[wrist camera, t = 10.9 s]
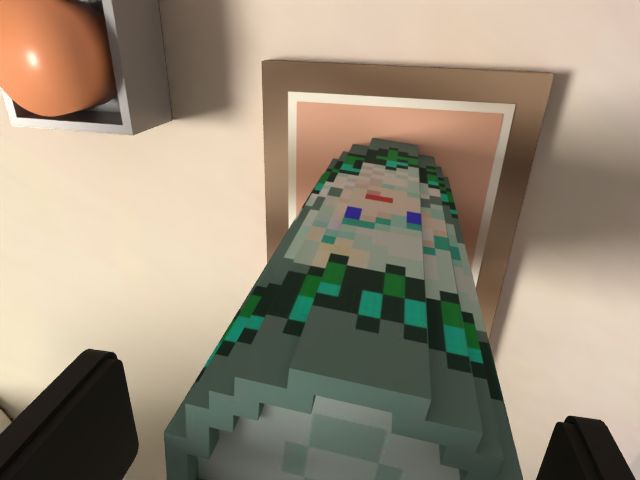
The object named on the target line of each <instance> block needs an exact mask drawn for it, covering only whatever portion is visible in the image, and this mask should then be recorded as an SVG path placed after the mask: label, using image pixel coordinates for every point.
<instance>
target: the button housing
mask: <svg viewBox="0 0 640 480" xmlns="http://www.w3.org/2000/svg"><path fill="white" fill-rule="evenodd" d="M80 1H83V2H85V3H87V4H89V5H91V6H92V7H94V8H95V9H97V10H98V11H99V12H100V13H101V14H102V15H103V16H104V17H105V21H106V27H107V33H108V39H109V45H110V51H111V57H112V63H113V69H114V75H115V81H116V87H117V93H118V94H117V95H116V96H115V97H114V98H113V99H112V100H111V101H109V102H107V103H106V104H103V105H100V106H96V107H92V108H88V109H84V110H80V111H76V112H72V113H68V114H64V115H60V116H41V115H38V114H35V113H32V112H30V111H28V110H26V109H24V108H23V107H21V106H20V105H18V104H17V103H16V102H15V101H13V100H12V99H11V98H10V97H9V96H8V95H7V94H6V93H5V92H4V90H3V89H2V88H1V90H2V94H3V97H4V101H5V105H6V108H7V112H8V115H9V119H10V123H11V126H18V127H31V128H44V129H57V130H70V131H83V132H96V133H109V134H122V135H135V134H138V133H140V132H143V131H146V130H148V129H151V128H153V127H156V126H159V125H161V124H164V123H166V122H169V121H172V112H171V104H170V95H169V87H168V78H167V70H166V61H165V53H164V45H163V36H162V28H161V19H160V11H159V2H158V0H80Z"/></svg>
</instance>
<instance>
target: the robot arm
mask: <svg viewBox="0 0 640 480" xmlns="http://www.w3.org/2000/svg"><path fill="white" fill-rule="evenodd" d="M138 446H139V443H138V437H137V432H136V427H135V422H134V417H133V412H132V407H131V402H130V397H129V392H128V387H127V382H126V377H125V372H124V367H123V363H122V361H121V360H118V359H117V356H116V354H115V353H114V352H108V351H101V350H94V349H87V350H85V351H84V352H82V353H81V354H80V355H79V356H78V357H77V358H76V359H75V360H74V361H73V362H72V363H71V364H70V365H69V366H68V367H67V368H66V369H65V370H64V371H63V372H62V373H61V374H60V375H59V376H58V377H57V378H56V379H55V380H54V381H53V382H52V383H51V384H50V385H49V386H48V387H47V388H46V389H45V390H44V391H43V392H42V393H41V394H40V395H39V396H38V397H37V398H36V399H35V400H34V401H33V402H32V403H31V404H30V405H29V406H28V407H27V408H26V409H25V410H24V411H23V412H22V413H21V414H20V415H19V416H18V417H17V418H16V419H15V420H14V421H13V422H11V420H10V419H9V418H8V417H7V415H6V414H5V413H4V412H3V411H2V410H1V409H0V480H122V479H123V477H124V475H125V474H126V472H127V471H128V469H129V467H130V466H131V464H132V463H133V461H134V459H135V457H136V455H137V452H138ZM536 480H636V479H635V477H634V476H633V474H632V472H631V470H630V468H629V466H628V464H627V463H626V461H625V459H624V457H623V455H622V453H621V452H620V450H619V448H618V446H617V444H616V442H615V440H614V439H613V437H612V435H611V433H610V431H609V429H608V427H607V426H606V425H605V423H604V422H603V421H601V420H597V419H590V418H583V417H576V416H568V417H567V418H566V419H565V421H564V422H558V423H556V425H555V428H554V430H553V433H552V436H551V439H550V442H549V444H548V447H547V450H546V453H545V456H544V459H543V461H542V464H541V467H540V470H539V473H538V475H537V478H536Z"/></svg>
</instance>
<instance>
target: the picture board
mask: <svg viewBox="0 0 640 480" xmlns="http://www.w3.org/2000/svg"><path fill="white" fill-rule="evenodd" d="M553 77H554V74H552V73H547V72H525V71H503V70H480V69H458V68H436V67H413V66H391V65H369V64H347V63H324V62H302V61H280V60H264V61H262V92H263V127H264V163H265V198H266V233H267V263H268V262H269V260H270V259H271V257H272V255H273V254H274V252H275V250H276V249H277V247H278V246H279V244H280V242H281V241H282V239H283V237H284V236H285V234H286V233H287V231H288V229H289V228H290V226H291V224H292V223H293V221H294V219H295V218H296V216H297V215H298V213H299V211H300V210H301V208H302V206H303V205H304V203H305V202H306V200H307V198H308V197H309V195H310V193H311V192H312V190H313V188H314V187H315V185H316V184H317V182H318V180H319V179H320V177H321V175H322V174H324V173H325V171H326V169H327V168H328V166H329V164H330V163H331V161H332V159H333V158H334V159H339V157H340V156H341V154H342V152H343V151H344V152H349V151H350V149H351V147H352V145H353V144H357V145H363V146H369V145H370V142H371V140H372V138H376V139H383V140H389V141H396V142H402V143H408V144H415V145H418V154H419V155H426V156H432V157H434V159H435V165H436V166H437V167H441V169H442V173H443V177H448V179H449V183H450V187H451V191H452V195H453V199H454V203H455V207H456V211H457V215H458V219H459V223H460V227H461V231H462V235H463V239H464V243H465V247H466V251H467V255H468V259H469V263H470V267H471V271H472V275H473V279H474V283H475V287H476V291H477V295H478V299H479V303H480V307H481V312H482V316H483V320H484V324H485V328H486V332H487V336H488V340H489V336H490V332H491V328H492V324H493V320H494V316H495V312H496V308H497V304H498V300H499V296H500V291H501V287H502V283H503V279H504V275H505V271H506V267H507V263H508V259H509V255H510V251H511V247H512V243H513V239H514V235H515V231H516V227H517V223H518V219H519V215H520V211H521V207H522V203H523V199H524V194H525V190H526V186H527V182H528V178H529V174H530V170H531V166H532V162H533V158H534V154H535V150H536V146H537V142H538V138H539V134H540V130H541V126H542V122H543V118H544V114H545V110H546V106H547V102H548V98H549V93H550V89H551V85H552V81H553Z"/></svg>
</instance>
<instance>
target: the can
mask: <svg viewBox="0 0 640 480" xmlns="http://www.w3.org/2000/svg"><path fill="white" fill-rule="evenodd" d="M164 441H165V456H166V470H167V480H523V477H522V473H521V469H520V465H519V461H518V457H517V453H516V449H515V445H514V441H513V437H512V432H511V428H510V424H509V420H508V416H507V412H506V408H505V404H504V400H503V396H502V392H501V388H500V384H499V380H498V376H497V372H496V368H495V364H494V360H493V356H492V352H491V348H490V344H489V340H488V336H487V332H486V328H485V324H484V320H483V316H482V312H481V307H480V303H479V299H478V295H477V291H476V287H475V283H474V279H473V275H472V271H471V267H470V263H469V259H468V255H467V251H466V247H465V243H464V239H463V235H462V231H461V227H460V223H459V219H458V215H457V211H456V207H455V203H454V199H453V195H452V191H451V187H450V183H449V179H448V177H443V173H442V169H441V167H437V166H436V165H435V159H434V157H432V156H426V155H419V154H418V145H415V144H408V143H402V142H396V141H389V140H383V139H376V138H372V140H371V142H370V145H369V146H363V145H357V144H353V145H352V147H351V149H350V151H349V152H344V151H343V152H342V154H341V156H340V157H339V159H334V158H333V159H332V161H331V163H330V164H329V166H328V168H327V169H326V171H325V173H324V174H322V175H321V177H320V179H319V180H318V182H317V184H316V185H315V187H314V188H313V190H312V192H311V193H310V195H309V197H308V198H307V200H306V202H305V203H304V205H303V206H302V208H301V210H300V211H299V213H298V215H297V216H296V218H295V219H294V221H293V223H292V224H291V226H290V228H289V229H288V231H287V233H286V234H285V236H284V237H283V239H282V241H281V242H280V244H279V246H278V247H277V249H276V250H275V252H274V254H273V255H272V257H271V259H270V260H269V262H268V263H267V265H266V267H265V268H264V270H263V272H262V273H261V275H260V277H259V278H258V280H257V281H256V283H255V285H254V286H253V288H252V290H251V291H250V293H249V294H248V296H247V298H246V299H245V301H244V303H243V304H242V306H241V308H240V309H239V311H238V312H237V314H236V316H235V317H234V319H233V321H232V322H231V324H230V325H229V327H228V329H227V330H226V332H225V334H224V335H223V337H222V338H221V340H220V342H219V343H218V345H217V347H216V348H215V350H214V352H213V353H212V355H211V356H210V358H209V360H208V361H207V363H206V365H205V366H204V368H203V369H202V371H201V373H200V374H199V376H198V378H197V379H196V381H195V383H194V384H193V386H192V387H191V389H190V391H189V392H188V394H187V396H186V397H185V399H184V400H183V402H182V404H181V405H180V407H179V409H178V410H177V412H176V413H175V415H174V417H173V418H172V420H171V422H170V423H169V425H168V427H167V428H166V430H165V431H164Z"/></svg>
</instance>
